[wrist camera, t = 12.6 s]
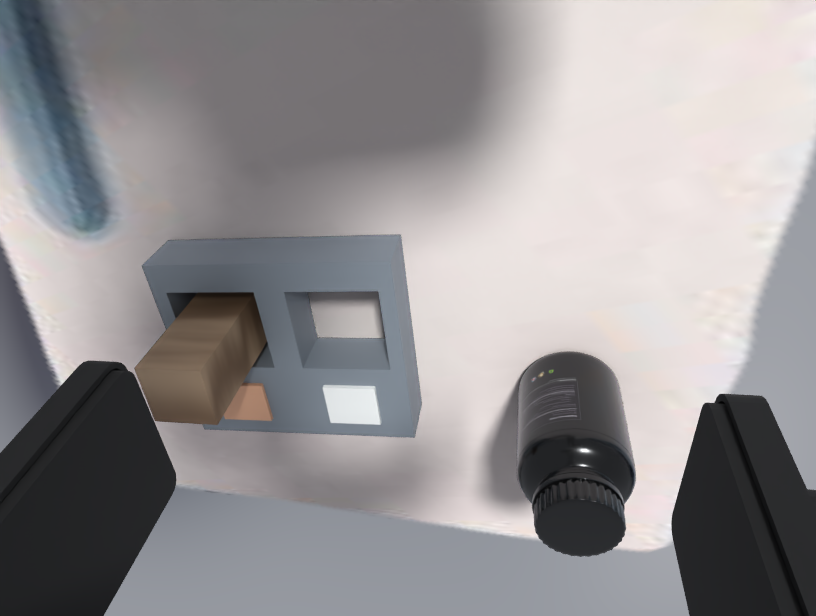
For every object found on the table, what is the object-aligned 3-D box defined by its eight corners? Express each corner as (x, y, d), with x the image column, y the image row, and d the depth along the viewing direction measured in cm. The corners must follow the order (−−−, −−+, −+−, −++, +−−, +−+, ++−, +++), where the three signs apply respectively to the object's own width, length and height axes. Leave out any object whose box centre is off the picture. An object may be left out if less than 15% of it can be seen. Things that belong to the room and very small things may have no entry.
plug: (209, 278, 43) (134, 368, 35) (264, 279, 42) (200, 371, 34) (223, 325, 45) (155, 421, 37) (275, 327, 44) (217, 425, 36)
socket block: (168, 240, 42) (139, 268, 39) (400, 234, 39) (389, 264, 35) (223, 398, 49) (202, 432, 46) (421, 403, 46) (414, 440, 43)
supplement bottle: (638, 398, 43) (671, 548, 33) (553, 435, 46) (560, 583, 36) (584, 330, 40) (602, 470, 30) (498, 374, 43) (489, 514, 34)
